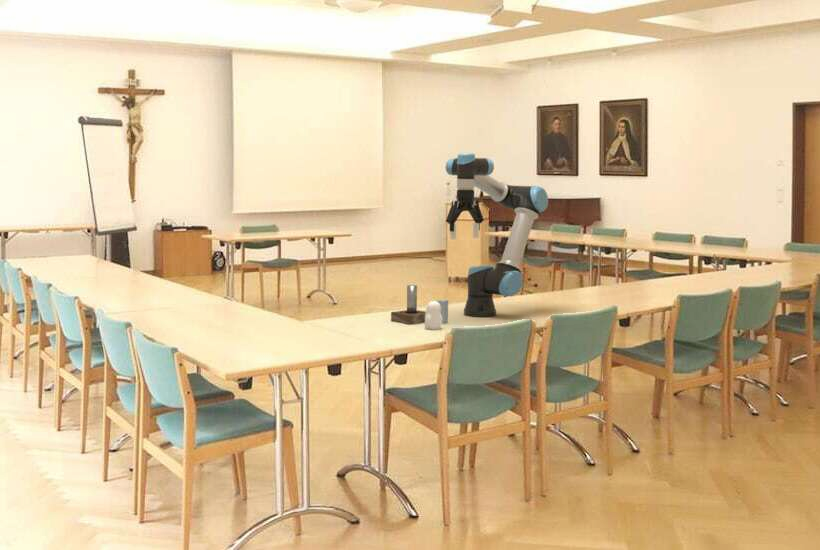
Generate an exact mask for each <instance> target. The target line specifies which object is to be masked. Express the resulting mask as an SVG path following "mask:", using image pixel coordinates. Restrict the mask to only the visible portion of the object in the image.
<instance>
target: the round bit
mask: <svg viewBox="0 0 820 550" xmlns="http://www.w3.org/2000/svg"><path fill="white" fill-rule="evenodd" d="M417 301H418V285H414V284H408V285H407V286H406V310H407V313H411V314H413V313H417V310H418V307H417V305H418V303H417Z"/></svg>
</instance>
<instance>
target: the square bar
mask: <svg viewBox="0 0 820 550" xmlns="http://www.w3.org/2000/svg"><path fill="white" fill-rule="evenodd" d="M435 301H437V302H438V303H439V304H440V306H441V315H442V324H443V325H445V324H447V323H448V322H449V300H448V299H437V300H435ZM442 324H441V325H442Z"/></svg>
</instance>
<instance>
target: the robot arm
mask: <svg viewBox="0 0 820 550" xmlns="http://www.w3.org/2000/svg"><path fill="white" fill-rule="evenodd" d="M494 169H495V165H494V162H493V160H492V159H490V158H488V157H487V158H486V157H476V155H475V153H473V152H459V153H458V154H457V157H455V158H453V157H452V158H449V159H447V161H446V163H445V170H446V171H445V172H446V173H447V174H448V175H449V176H456V188H457V190H456V198H457V200H452V201H451V204H450V208H449V212H448V214H447V217H446V220H445V222H446V223H447V224H449V231H450V236H449V237H450V240H457V224H456V222H457V220H458V219H459V217H460V216H461V214H462V213H463V212H468V213H469V215H470V216H471V218H472V219H473V221H474V222H473V233H472V236H473V237H472V238H473V239H479V238H480V237H479V236H480V229H481V224H482V223H483V222H484V217H483V216H484V215H483V214H482V210H481V208H480V201H479V200H477V199H476V200H475V199H474V198H475V190H474V189H475V188H476V189H478V190H480V191H482V192H484V193H485V194H486V195H488V196H490V197H491V200H492V201H494V202H495V203H497V204H499V205H500V206H502V207H505V208H506V209H509V210H512V211H514V213H515V214H516V215H515V217H514V220H513V223H512V227H511V229H510V233H509V235H508V239H507V242H506V246H505V248H504V251H503V254H502V257H501V260H500V261H499V262H496V265H495V268H494V264H493V265H491V264H489V265H477V266H476V265H475V266H470V267H469V269H468V272H467V273H468V274H467V299H466V303H465V306H464V308H463V315H465V316H469V317H475V318H476V317H478V318H485V317H489V318H490V317H494V316H497V309H496V308H495V307H496V305H495V302H494V299H493V298H494V297H493V296H494V295H498V296H503V297H512V296H513V297H514V296H516V295H517V294H518V293H519V292H520V291H521V289H522V287H523V283H524V281H523V275H522V272H521V271H522V269H521V268H520V264H521V261H522V260H523V255H524V251H525V249H526V246H527V243H528V239H529V236H530V233H531V231H532V227H533V223H534V221H536V219H538V218H539V216H540V214H541V213H542V212H545V211H546V210H547V209H548V206H549V196H548V193H547V191H546V189H544V188H543V187H541V186H537V185H530V186H529V185H528V186H527V185H525V186H524V185H510V184H507V183H506V182H504V181H503V182H499V181H498V180H497V179H495V178H493V177H492V176H490V175H491V174H492V173H493V171H494Z"/></svg>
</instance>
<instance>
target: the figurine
mask: <svg viewBox="0 0 820 550" xmlns="http://www.w3.org/2000/svg"><path fill="white" fill-rule="evenodd" d="M425 312H426V314H425V323H424V328H425V329H426V330H434V331H435V330H440V328H441V326H442V315H441V306H440V304H439V303H438V302H437V301H436V300H431V301H429V302H428V303H427V304H426V308H425Z"/></svg>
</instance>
